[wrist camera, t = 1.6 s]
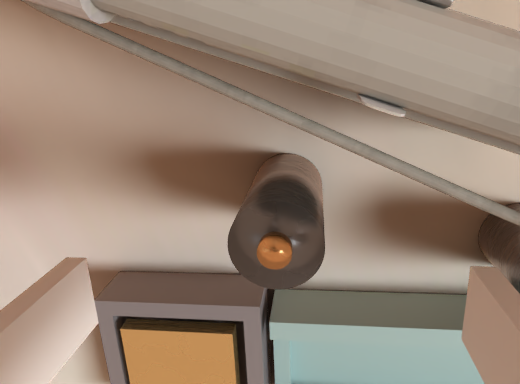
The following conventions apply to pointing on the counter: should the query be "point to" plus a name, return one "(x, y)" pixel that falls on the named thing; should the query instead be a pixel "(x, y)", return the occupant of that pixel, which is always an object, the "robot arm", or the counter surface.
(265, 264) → the cell
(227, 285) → the grey square tray
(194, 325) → the orange square tile
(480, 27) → the geiger counter
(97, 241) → the counter surface
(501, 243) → the cell
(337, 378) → the trough
